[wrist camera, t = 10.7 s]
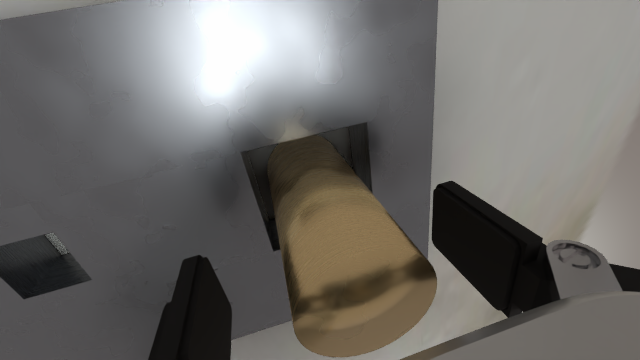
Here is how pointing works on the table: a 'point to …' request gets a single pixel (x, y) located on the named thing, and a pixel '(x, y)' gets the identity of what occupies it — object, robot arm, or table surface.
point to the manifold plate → (188, 152)
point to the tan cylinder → (343, 254)
